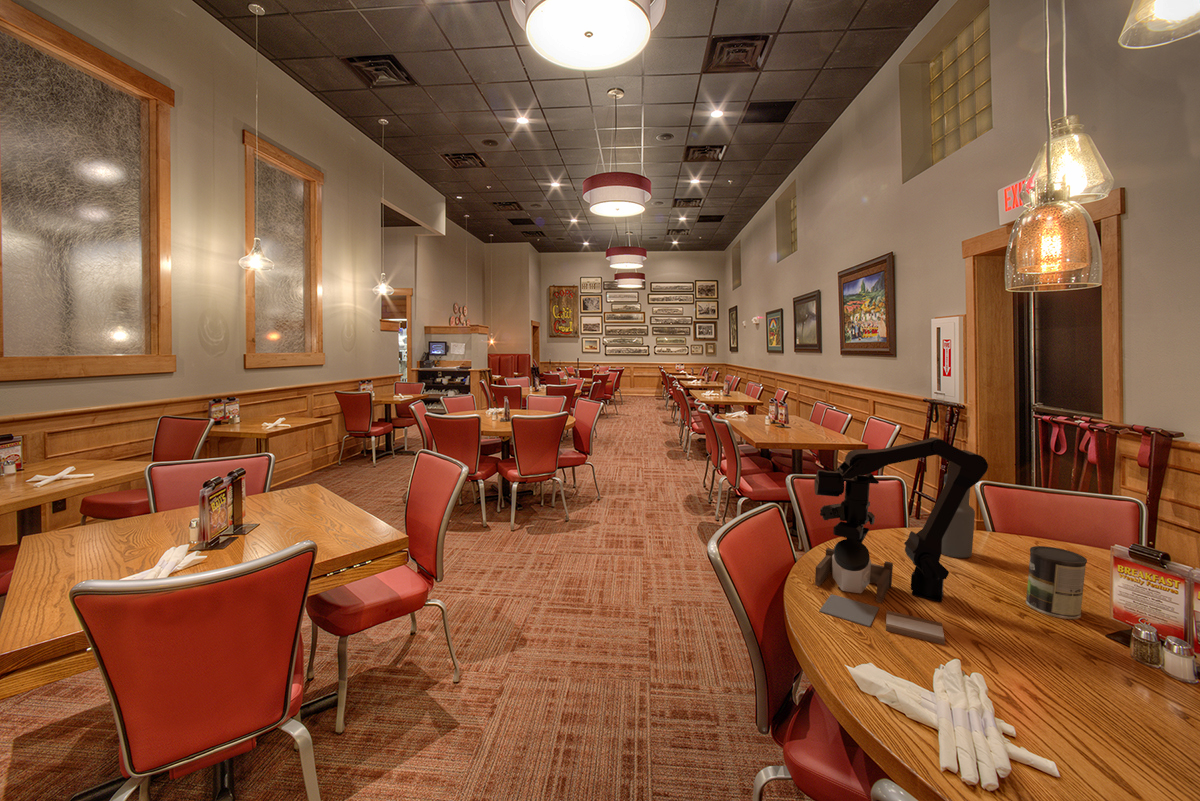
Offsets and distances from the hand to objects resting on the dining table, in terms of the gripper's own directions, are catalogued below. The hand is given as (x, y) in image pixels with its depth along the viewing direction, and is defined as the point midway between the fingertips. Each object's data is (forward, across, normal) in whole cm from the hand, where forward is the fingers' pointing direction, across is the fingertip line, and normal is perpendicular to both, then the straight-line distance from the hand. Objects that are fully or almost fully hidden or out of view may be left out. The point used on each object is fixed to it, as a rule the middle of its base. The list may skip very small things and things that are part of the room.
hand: (852, 554), depth 134 cm
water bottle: (+9, -47, +19) cm, 51 cm away
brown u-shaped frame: (+9, -1, 0) cm, 9 cm away
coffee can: (+8, -19, +42) cm, 46 cm away
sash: (+9, +14, +16) cm, 23 cm away
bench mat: (+9, +14, +3) cm, 17 cm away
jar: (+7, +1, 0) cm, 7 cm away
